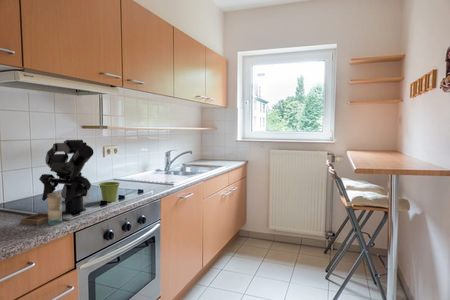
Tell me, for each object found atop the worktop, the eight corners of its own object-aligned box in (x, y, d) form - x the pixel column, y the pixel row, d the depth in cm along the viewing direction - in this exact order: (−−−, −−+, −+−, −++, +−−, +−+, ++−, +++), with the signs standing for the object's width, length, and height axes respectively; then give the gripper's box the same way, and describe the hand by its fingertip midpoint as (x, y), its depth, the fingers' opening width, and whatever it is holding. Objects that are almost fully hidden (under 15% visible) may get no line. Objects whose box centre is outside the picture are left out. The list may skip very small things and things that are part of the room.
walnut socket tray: (38, 217, 115) (38, 212, 115) (56, 219, 113) (55, 214, 113) (20, 223, 107) (20, 218, 107) (38, 225, 105) (38, 220, 105)
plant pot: (110, 197, 149) (110, 181, 148) (124, 200, 145) (123, 182, 144) (94, 201, 141) (94, 183, 140) (108, 204, 136) (108, 185, 136)
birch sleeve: (54, 220, 111) (54, 192, 110) (64, 221, 110) (64, 193, 109) (45, 224, 107) (44, 194, 106) (55, 225, 106) (54, 195, 105)
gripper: (42, 153, 113) (18, 187, 103) (85, 155, 110) (65, 190, 100) (57, 170, 121) (36, 203, 111) (98, 173, 118) (81, 207, 108)
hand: (54, 200), depth 107 cm, fingers open, 9 cm apart
